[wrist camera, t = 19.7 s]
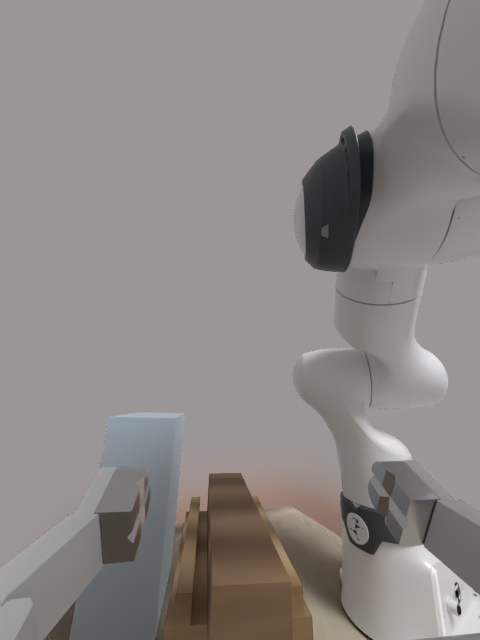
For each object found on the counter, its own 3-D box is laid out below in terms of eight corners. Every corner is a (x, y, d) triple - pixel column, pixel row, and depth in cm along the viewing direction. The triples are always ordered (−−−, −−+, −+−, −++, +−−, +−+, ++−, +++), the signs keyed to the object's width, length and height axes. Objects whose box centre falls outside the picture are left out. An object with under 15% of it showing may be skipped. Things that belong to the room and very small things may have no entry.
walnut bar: (207, 511, 30) (209, 473, 31) (240, 510, 30) (240, 473, 31) (206, 703, 11) (212, 586, 12) (295, 693, 11) (291, 581, 13)
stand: (114, 566, 44) (137, 412, 52) (171, 564, 45) (184, 413, 54) (66, 652, 29) (108, 417, 37) (153, 645, 30) (175, 418, 38)
